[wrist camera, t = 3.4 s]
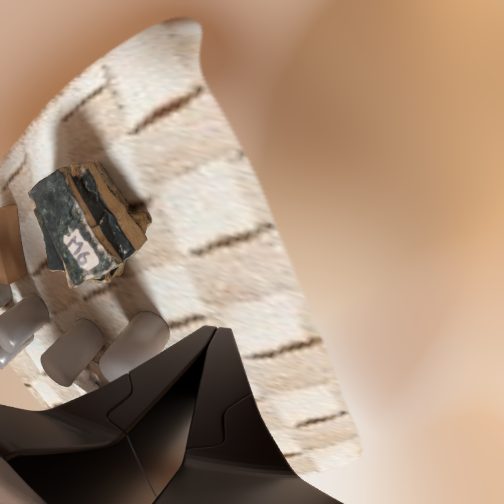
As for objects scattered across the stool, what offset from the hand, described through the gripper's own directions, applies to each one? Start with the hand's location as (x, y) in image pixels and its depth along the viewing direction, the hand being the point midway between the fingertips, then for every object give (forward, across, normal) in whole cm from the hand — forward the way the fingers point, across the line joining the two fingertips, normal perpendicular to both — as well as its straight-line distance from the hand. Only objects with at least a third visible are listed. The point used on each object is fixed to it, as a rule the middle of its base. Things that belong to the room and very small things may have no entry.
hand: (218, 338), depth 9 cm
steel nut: (+12, +17, +16) cm, 27 cm away
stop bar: (+12, +24, +2) cm, 27 cm away
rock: (+13, +13, 0) cm, 18 cm away
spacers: (+12, +18, +11) cm, 24 cm away
